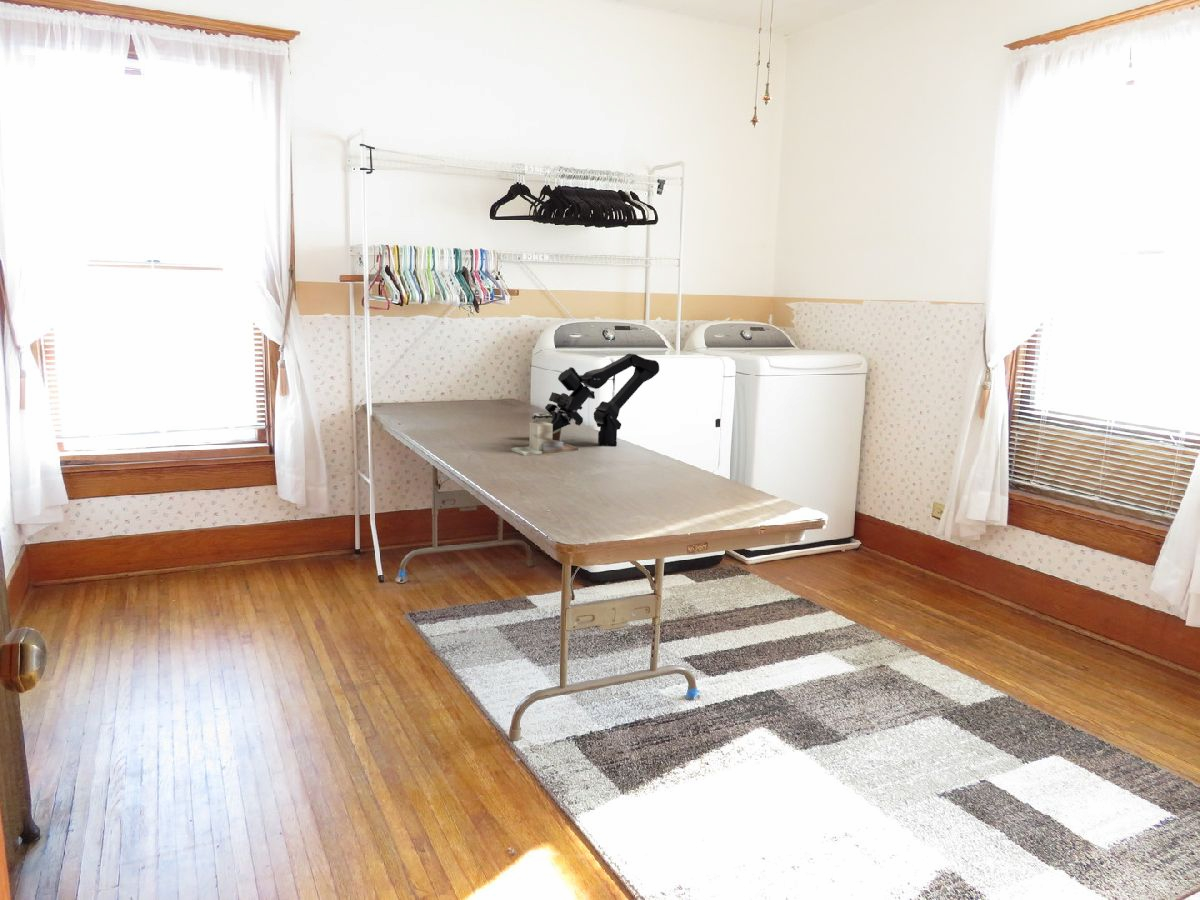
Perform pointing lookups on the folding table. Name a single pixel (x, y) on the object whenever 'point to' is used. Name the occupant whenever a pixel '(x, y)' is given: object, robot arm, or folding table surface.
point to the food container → (548, 418)
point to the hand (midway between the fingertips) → (549, 431)
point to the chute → (545, 448)
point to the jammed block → (540, 434)
